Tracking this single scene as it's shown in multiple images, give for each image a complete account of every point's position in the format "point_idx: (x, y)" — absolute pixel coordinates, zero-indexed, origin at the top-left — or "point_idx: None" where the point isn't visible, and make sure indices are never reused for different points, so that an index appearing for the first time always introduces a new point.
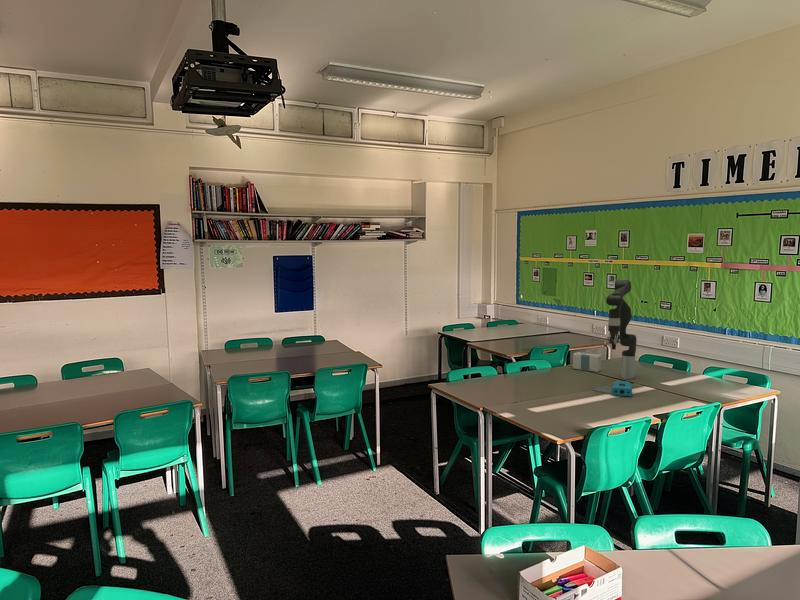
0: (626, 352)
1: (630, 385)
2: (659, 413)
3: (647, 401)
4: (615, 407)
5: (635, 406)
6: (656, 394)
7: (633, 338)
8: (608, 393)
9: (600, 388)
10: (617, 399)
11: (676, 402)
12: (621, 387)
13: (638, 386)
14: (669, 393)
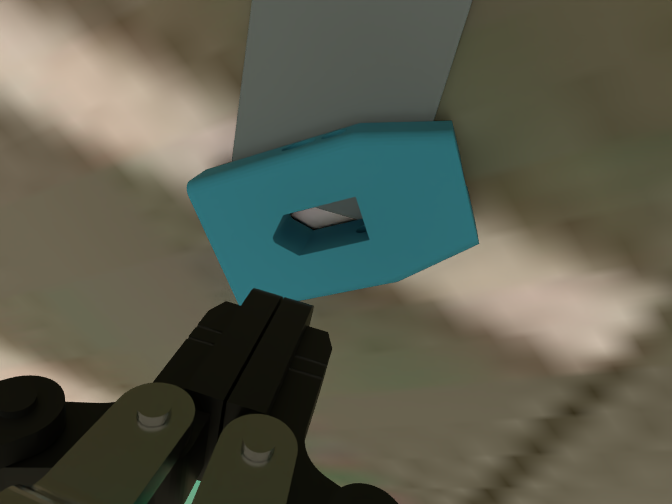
0: None
1: (343, 286)
2: None
3: None
4: (5, 253)
5: (104, 333)
6: (432, 391)
7: None
8: (236, 125)
9: (343, 2)
10: (156, 219)
11: None
12: (235, 243)
13: (626, 259)
14: (501, 446)
